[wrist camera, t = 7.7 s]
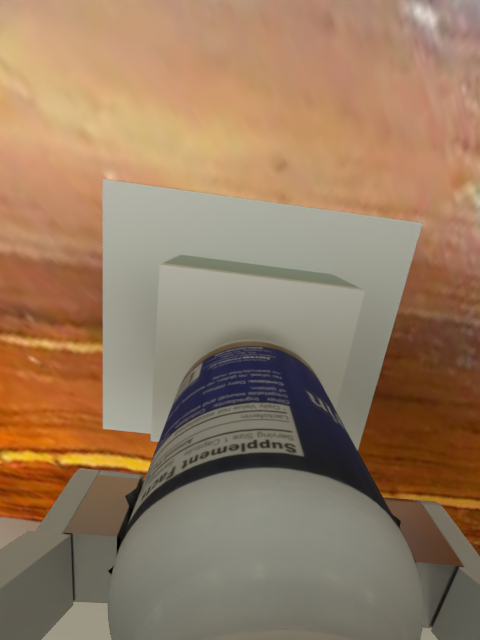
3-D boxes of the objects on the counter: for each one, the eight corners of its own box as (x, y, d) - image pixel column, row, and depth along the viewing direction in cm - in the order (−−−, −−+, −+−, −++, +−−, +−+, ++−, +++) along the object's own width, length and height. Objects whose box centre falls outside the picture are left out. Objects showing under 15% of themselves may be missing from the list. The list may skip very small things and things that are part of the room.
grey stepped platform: (412, 223, 18) (491, 221, 13) (351, 445, 23) (389, 518, 17) (110, 181, 18) (48, 159, 12) (108, 420, 22) (63, 487, 16)
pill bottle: (334, 440, 13) (607, 1040, 3) (206, 473, 13) (125, 1084, 4) (301, 314, 11) (636, 776, 2) (156, 357, 12) (-186, 903, 2)
